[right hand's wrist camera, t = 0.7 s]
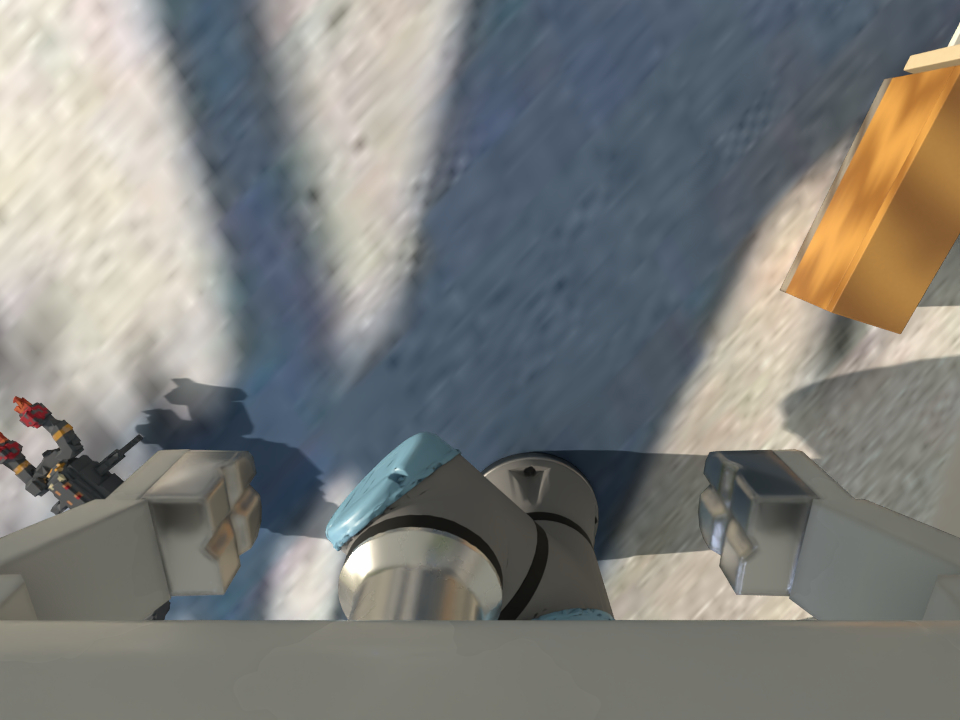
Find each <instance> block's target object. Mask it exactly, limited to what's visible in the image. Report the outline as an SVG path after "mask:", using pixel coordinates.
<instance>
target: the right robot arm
mask: <svg viewBox="0 0 960 720" xmlns="http://www.w3.org/2000/svg"><path fill="white" fill-rule="evenodd" d="M255 475H256V469H255V463H254V458H253V456H252V455H251V454H250V453H249V452H248V451H221V450H190V449H184V450H162V451H158V452H157V453H156V454H154V455H153V456H152V457H151V458H150V459H149V460H148V461H147V462H146V463H144V464H143V465H142V466H141V467H140V468H139V469H138V470H137V471H136V472H135V473H133V474H132V475H131V476H130V477H129V478H128V479H127V480H126V481H125V482H123V483H122V484H121V485H120V486H119V487H118V488H117V489H116V490H115V491H113V492H112V493H111V494H110V495H109V496H108V497H107V498H106V499H95V500H92V501H90V502H88V503H85V504H83V505H80V506H78V507H75V508H73V509H70V510H68V511H65V512H63V513H60V514H58V515H55V516H53V517H51V518H48V519H46V520H43V521H41V522H38V523H36V524H33V525H31V526H28V527H26V528H23V529H21V530H19V531H16V532H14V533H11V534H9V535H6V536H4V537H1V538H0V720H960V538H958V537H956V536H954V535H951V534H949V533H946V532H944V531H941V530H939V529H936V528H934V527H931V526H929V525H927V524H924V523H922V522H919V521H917V520H914V519H912V518H909V517H907V516H904V515H902V514H899V513H897V512H895V511H892V510H890V509H887V508H885V507H882V506H880V505H877V504H875V503H872V502H870V501H868V500H865V499H854V498H853V497H852V496H851V495H850V494H849V493H848V492H847V491H845V490H844V489H843V488H842V487H841V486H840V485H839V484H838V483H837V482H836V481H834V480H833V479H832V478H831V477H830V476H829V475H828V474H827V473H826V472H825V471H823V470H822V469H821V468H820V467H819V466H818V465H817V464H816V463H815V462H813V461H812V460H811V459H810V458H809V457H808V456H807V455H806V454H805V453H804V452H802V451H799V450H796V449H789V450H747V451H715V452H709V455H708V457H707V459H706V462H705V468H704V475H705V476H706V478H707V479H708V481H709V482H710V485H709V486H708V487H707V488H706V489H705V490H704V491H703V493H702V494H701V495H700V500H699V508H698V515H699V525H700V529H701V533H702V536H703V538H704V540H705V542H706V544H707V546H708V547H709V548H710V549H711V550H713V551H714V552H716V553H718V554H719V555H721V559H720V565H719V566H720V568H721V570H722V571H723V573H724V575H725V576H726V578H727V580H728V581H729V583H730V585H731V586H732V588H733V590H734V592H735V593H736V595H768V596H790V597H789V599H791V600H792V601H793V602H795V603H796V604H797V605H799V606H800V607H801V608H803V609H804V610H805V611H807V612H808V613H809V614H811V615H812V616H813V617H815V618H816V619H817V620H143V619H144V618H146V617H147V616H148V615H150V614H151V613H152V612H154V611H155V610H156V609H158V608H159V607H160V606H162V605H163V604H164V603H166V602H167V601H168V600H170V599H171V597H170V596H191V595H224V593H225V592H226V590H227V588H228V587H229V585H230V583H231V581H232V580H233V578H234V576H235V575H236V573H237V571H238V570H239V568H240V566H241V565H240V559H239V555H241V554H242V553H244V552H246V551H247V550H249V549H250V548H251V547H252V546H253V544H254V542H255V540H256V538H257V536H258V532H259V528H260V524H261V515H262V506H261V499H260V495H259V494H258V493H257V491H256V490H255V489H254V488H253V487H252V486H251V485H250V482H251V481H252V479H253V478H254V476H255Z"/></svg>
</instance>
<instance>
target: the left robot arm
mask: <svg viewBox="0 0 960 720" xmlns="http://www.w3.org/2000/svg"><path fill="white" fill-rule="evenodd" d="M597 527H598V506H597V501H596V498H595V495H594V492H593V489H592V487H591V485H590V483H589V481H588V480H587V478H586V477H585V476H584V475H583V473H582V472H581V471H580V470H579V469H577V468H576V467H575V466H574V465H572V464H571V463H569V462H567V461H566V460H563V459H561V458H559V457H556V456H553V455H549V454H544V453H520V454H515V455H511V456H508V457H505V458H502V459H500V460H498V461H496V462H494V463H493V464H491V465H489V466H488V467H487V468H485V469H484V470H483V471H482V472H481V473H480V472H479V471H478V470H477V469H476V468H475V467H474V466H472V465H471V464H470V463H469V462H468V461H467V460H466V459H465V458H463V457H462V456H461V452H460V451H459V450H457V449H453V448H452V447H451V446H450V445H448V444H447V443H446V442H445V441H443V440H442V439H441V438H439V437H438V436H437V435H435V434H433V433H429V432H423V433H418V434H416V435H414V436H412V437H410V438H408V439H407V440H406V441H404V442H403V443H402V444H400V445H399V446H398V447H397V448H395V449H394V450H393V451H392V452H391V453H389V454H388V455H387V456H386V457H385V458H384V459H383V460H382V461H381V462H380V463H379V464H378V465H377V466H376V467H375V468H374V469H373V470H372V471H371V472H370V473H369V474H368V475H367V476H366V477H365V478H364V479H363V480H362V481H361V482H360V483H359V484H358V485H357V486H356V488H355V489H354V490H353V491H352V492H351V493H350V494H349V495H348V497H347V498H346V499H345V500H344V502H343V503H342V504H341V505H340V507H339V508H338V509H337V511H336V512H335V513H334V515H333V516H332V518H331V519H330V521H329V523H328V525H327V528H326V536H327V538H328V540H329V541H330V542H331V543H332V544H333V547H334V548H335V549H336V550H337V551H339V550H342V551H343V552H344V553H345V554H346V555H347V556H346V559H345V562H344V565H343V567H342V570H341V573H340V576H339V584H338V594H339V599H340V603H341V606H342V609H343V611H344V613H345V615H346V617H347V618H348V620H615V619H614V616H613V613H612V609H611V606H610V603H609V599H608V596H607V593H606V589H605V586H604V583H603V579H602V576H601V573H600V569H599V566H598V563H597V559H596V556H595V553H594V549H593V548H594V543H595V535H596V532H597Z"/></svg>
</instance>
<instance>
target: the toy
mask: <svg viewBox="0 0 960 720" xmlns="http://www.w3.org/2000/svg"><path fill="white" fill-rule="evenodd" d="M15 402H16V403H17V404H18V405H19V406H16V408H15V409H14V410H15V411H16V412H18V413H19V414H20V415H19V416H20V418H21V419H20V420H19V421H21V422H22V423H23V424H24V425H26V426H27V427H29V426H32V427H33V428H34V427H35V428H39V427H40V426H43V427H44V428H45V429H46V430H47V431H49V432H50V433H51V435H52V437H53V439H54V440H55V441H56V443H57V444H58V446H59V448H58V449H54V450H47V451H45V452H44V453H43V454H42V455H43V457H44V458H43V460H42V462H41V463H40V464H39V466H38V467H37V468H35V467H34V466H33V465H32V464H30V463H29V462H28V461H27V460H26V459H25V456H24V455H23V454H22V453H21V451H22V447H23V446H21V445H20V444H19V443H17V442H16V441H13V440H12V441H10V440H9V439H7V438H6V437H5V436H3V434H2V433H1V432H0V464H4V465H5V466H7V467H8V468H9V469H11V470H12V471H14V472H15V473H16V474H15V475H16V476H17V477H19V478H20V479H21V480H22V481H23V482H24V483H25V484H26V488H25V489H26V490H27V491H28V492H30V493H31V494H32V495H34V496H35V497H36V496H37V495H40V496H43V495H44V494H45V493H47V492H48V491H49V490H50V491H51V492H52V493H53V494H54V496H55V497H56V498H57V499H59V501H58V502H57V503H56V504H55V505H54V506H53V507H52V509H51V512H53V513H54V514H55V515H57V514H60V513H62V512H63V511H64V510H66V509H67V508H70V509H73V508H75V507H78V506H80V505H83V504H85V503H88V502H90V501H92V500H95V499H106V498H107V497H108V496H109V495H110V494H111V493H112V492H113V491H115V490H116V489H117V488H118V487H119V486H120V485H121V484H122V483H123V482H124V481H123V480H122V479H120V478H119V477H118V476H117V475H116V474H115V473H114V474H111V473H110V472H109V470H110V469H111V468H112V467H113V466H115V465H116V464H117V463H118V462H119V461H121V460H122V459H123V458H124V457H125V455H124V454H125V453H126V452H127V451H128V450H129V449H131V448H132V447H133V446H134V445H135V444H137V443H138V442H139V441H140V440H142V439H143V437H142V436H140V435H138V436H136V437H135V438H134V439H133V440H132V441H130V442H129V443H128V444H127V445H126V446H124V447H123V448H122V449H121V450H118V449H116V450H115V451H114V452H112V453H111V454H110V455H109V456H108V457H106V458H105V459H104V460H103V461H102V462H100V463H98V462H94V461H92V460H91V459H90V458H89V457H88V456H87V455H82V456H81V457H80V458H75V457H76V456H77V455H78V454H80V453H81V452H82V451H83V450H84V449H83V446H82V445H81V443H80V441H81V440H80V439H79V438H78V437H77V436H76V434H75V433H74V431H73V429H72V428H73V427H72V426H71V425H69V424H68V423H67V422H66V421H65V420H63V421H60V420H56V419H55V418H54V417H53V416H52V415H51V414H52V413H51V412H50V411H49V410H48V409H47V408H46V407H45V406H44V405H43V404H42V403H40V404H39V403H35V404H33V405H32V404H31V403H29V402H28V401H27V400H26V399H24V398H23V397H22V399H21V398H19V397H16V396H15V398H14V400H13V403H15ZM170 597H171V596H170ZM169 609H170V602H169V600H168V601H167V602H166V603H164V604H163V605H162V606H160V607H159V608H158V609H156V610H155V611H154V612H152V613H151V614H150V615H148V616H147V617H146V618H144V619H143V620H164V619H165V615H166V614H167V612H168V611H169Z"/></svg>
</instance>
